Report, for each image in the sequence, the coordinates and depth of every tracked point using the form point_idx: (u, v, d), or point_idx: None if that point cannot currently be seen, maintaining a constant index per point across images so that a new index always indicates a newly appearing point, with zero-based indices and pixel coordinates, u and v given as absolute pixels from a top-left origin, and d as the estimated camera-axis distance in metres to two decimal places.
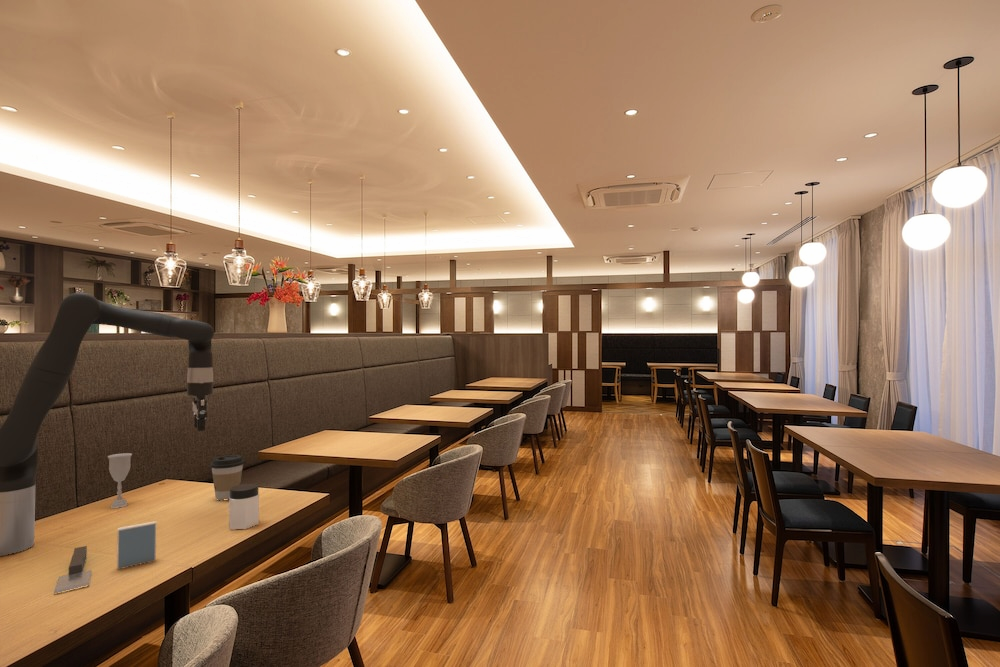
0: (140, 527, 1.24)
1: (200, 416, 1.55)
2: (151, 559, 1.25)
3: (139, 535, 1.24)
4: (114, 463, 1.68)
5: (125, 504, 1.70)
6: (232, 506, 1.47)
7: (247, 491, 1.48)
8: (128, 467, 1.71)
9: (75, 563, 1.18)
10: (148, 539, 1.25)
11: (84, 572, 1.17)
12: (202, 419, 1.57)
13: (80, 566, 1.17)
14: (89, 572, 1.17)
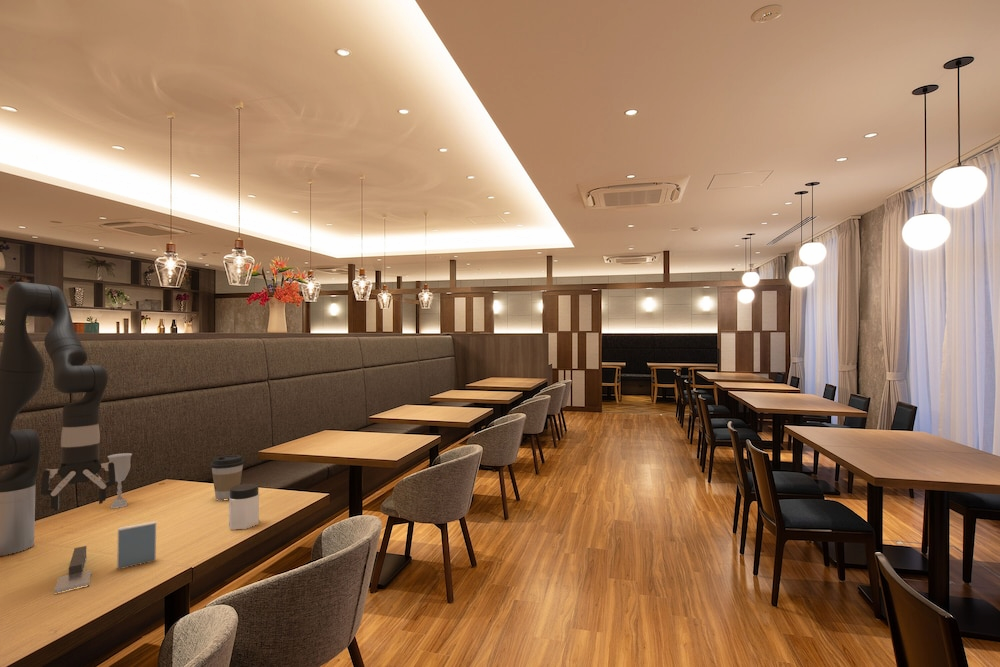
0: (140, 527, 1.24)
1: (114, 482, 1.26)
2: (151, 559, 1.25)
3: (139, 535, 1.24)
4: (114, 463, 1.68)
5: (125, 504, 1.70)
6: (232, 506, 1.47)
7: (247, 491, 1.48)
8: (128, 467, 1.71)
9: (75, 563, 1.18)
10: (148, 539, 1.25)
11: (84, 572, 1.17)
12: None
13: (80, 566, 1.17)
14: (89, 572, 1.17)
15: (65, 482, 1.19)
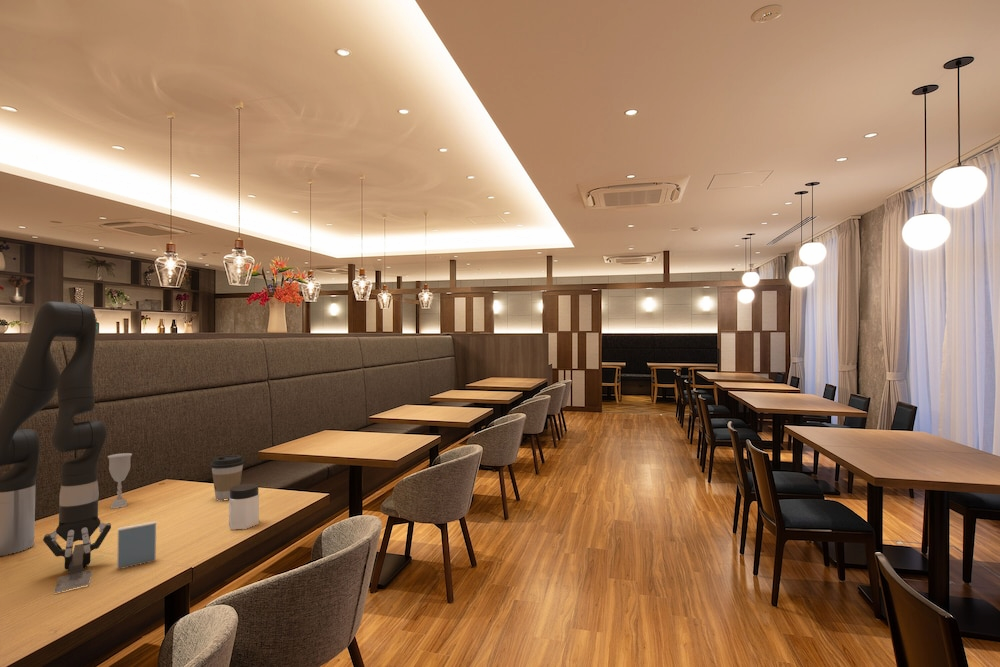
0: (140, 527, 1.24)
1: None
2: (151, 559, 1.25)
3: (139, 535, 1.24)
4: (114, 463, 1.68)
5: (125, 504, 1.70)
6: (232, 506, 1.47)
7: (247, 491, 1.48)
8: (128, 467, 1.71)
9: (75, 563, 1.18)
10: (148, 539, 1.25)
11: (84, 572, 1.17)
12: None
13: (80, 566, 1.17)
14: (89, 572, 1.17)
15: (70, 541, 1.19)
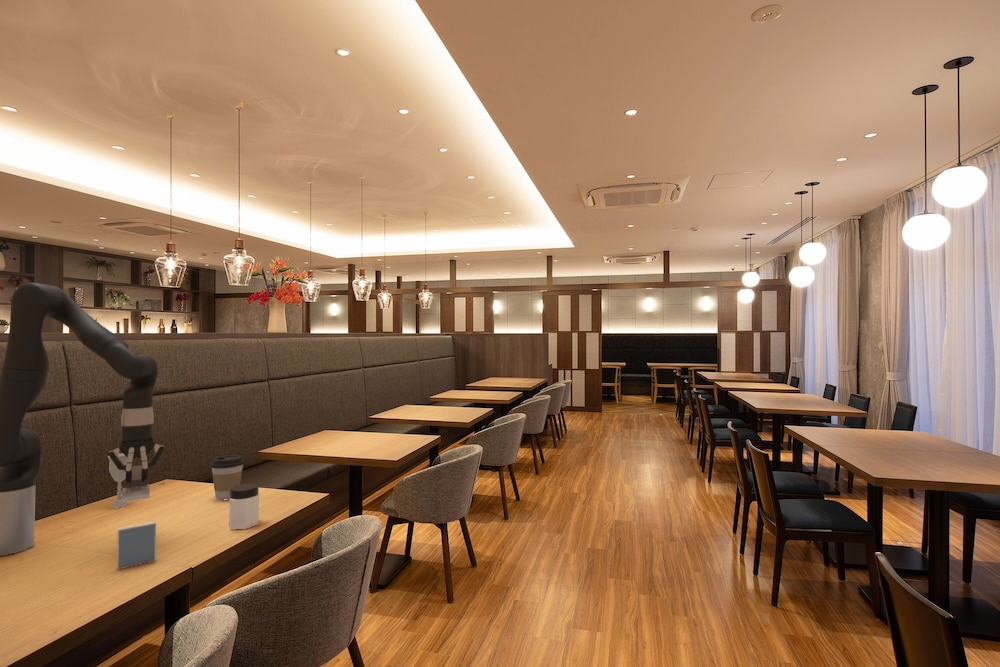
0: (140, 527, 1.24)
1: None
2: (151, 559, 1.25)
3: (139, 535, 1.24)
4: None
5: (125, 504, 1.70)
6: (232, 506, 1.47)
7: (247, 491, 1.48)
8: None
9: (135, 478, 1.36)
10: (148, 539, 1.25)
11: (144, 486, 1.35)
12: None
13: (140, 480, 1.35)
14: (148, 486, 1.35)
15: (131, 457, 1.37)
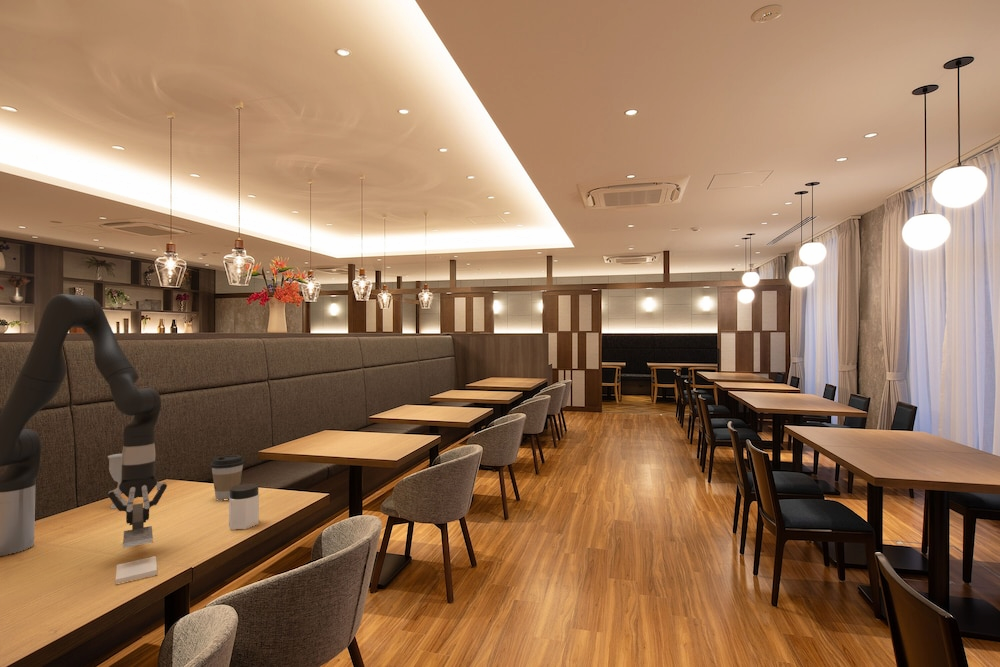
0: None
1: None
2: None
3: None
4: (114, 463, 1.68)
5: (125, 504, 1.70)
6: (232, 506, 1.47)
7: (247, 491, 1.48)
8: None
9: (137, 519, 1.29)
10: None
11: (146, 528, 1.28)
12: None
13: (142, 522, 1.28)
14: (150, 528, 1.28)
15: (132, 498, 1.30)
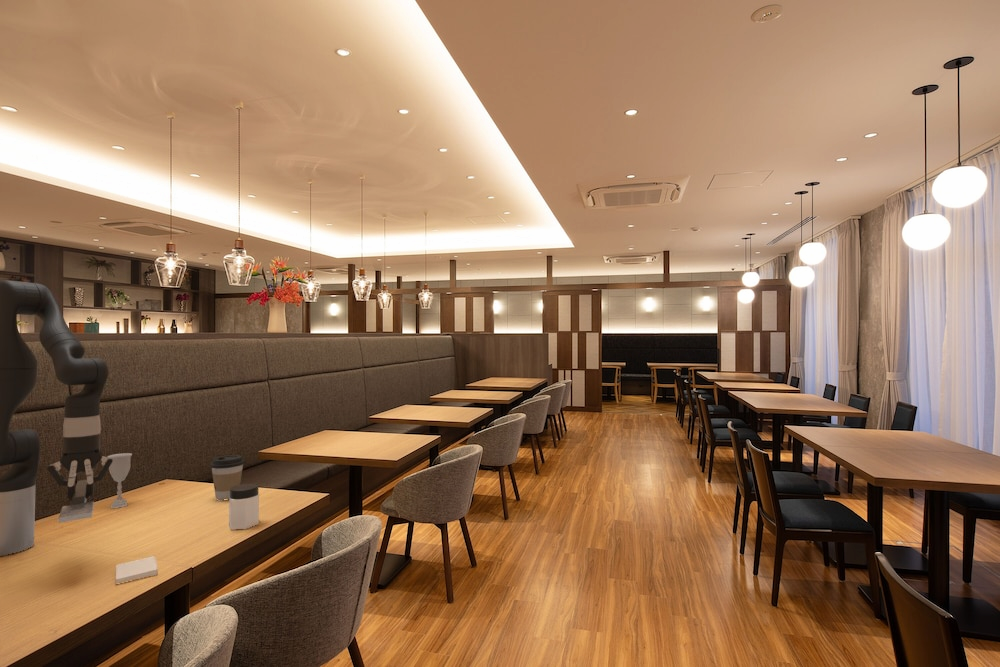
0: None
1: (101, 477, 1.28)
2: None
3: None
4: (114, 463, 1.68)
5: (125, 504, 1.70)
6: (232, 506, 1.47)
7: (247, 491, 1.48)
8: (128, 467, 1.71)
9: (78, 494, 1.22)
10: None
11: (87, 503, 1.22)
12: None
13: (83, 497, 1.22)
14: (92, 503, 1.22)
15: (73, 472, 1.24)
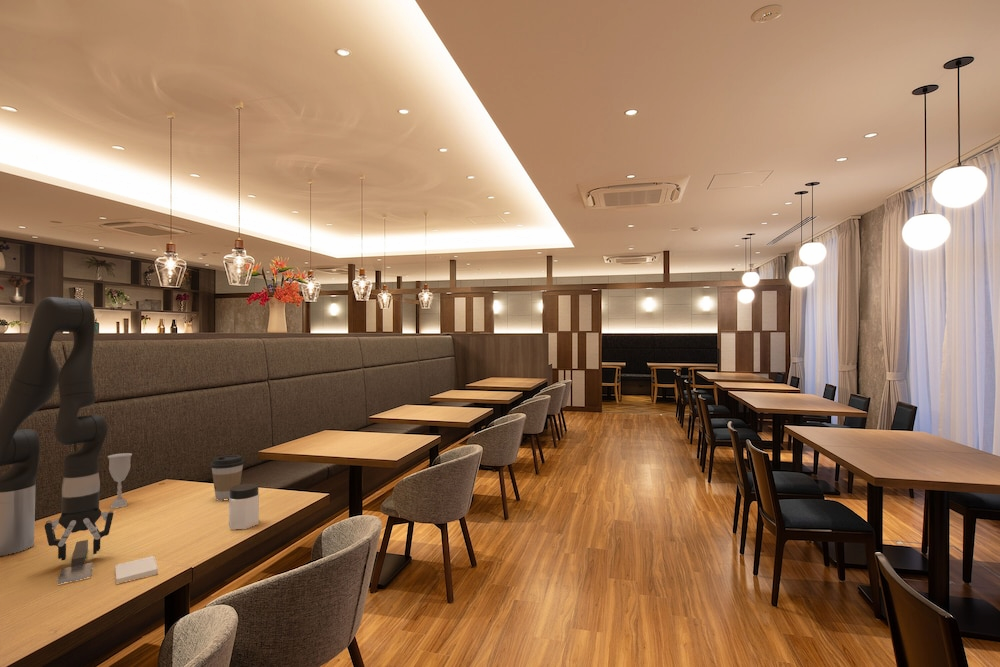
0: None
1: (108, 532, 1.29)
2: None
3: None
4: (114, 463, 1.68)
5: (125, 504, 1.70)
6: (232, 506, 1.47)
7: (247, 491, 1.48)
8: (128, 467, 1.71)
9: (77, 556, 1.22)
10: None
11: (86, 564, 1.21)
12: None
13: (82, 559, 1.21)
14: (91, 564, 1.21)
15: (68, 532, 1.23)
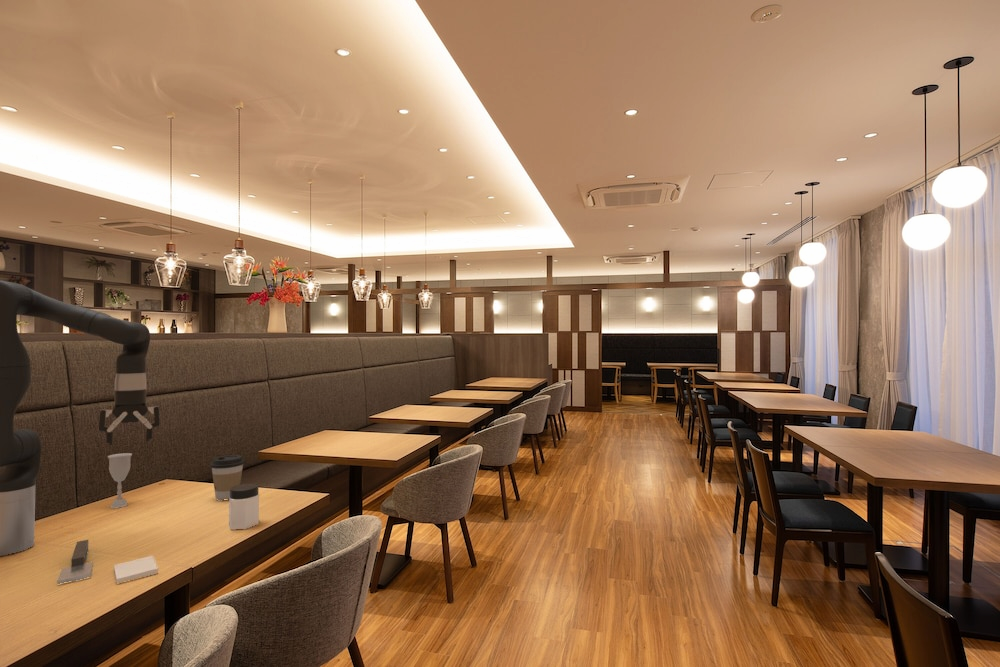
0: None
1: (159, 423, 1.46)
2: None
3: None
4: (114, 463, 1.68)
5: (125, 504, 1.70)
6: (232, 506, 1.47)
7: (247, 491, 1.48)
8: (128, 467, 1.71)
9: (77, 556, 1.22)
10: None
11: (86, 564, 1.21)
12: None
13: (82, 558, 1.21)
14: (91, 564, 1.21)
15: (118, 421, 1.39)
